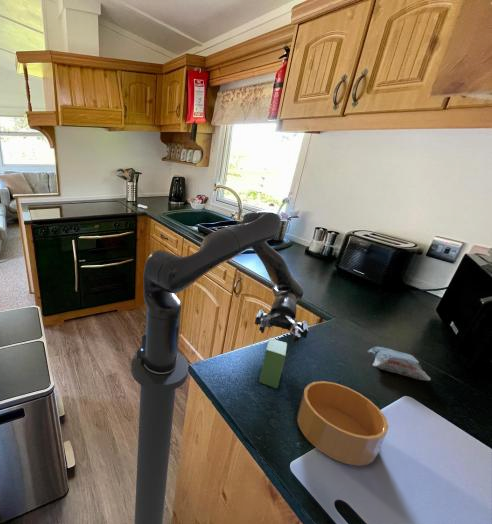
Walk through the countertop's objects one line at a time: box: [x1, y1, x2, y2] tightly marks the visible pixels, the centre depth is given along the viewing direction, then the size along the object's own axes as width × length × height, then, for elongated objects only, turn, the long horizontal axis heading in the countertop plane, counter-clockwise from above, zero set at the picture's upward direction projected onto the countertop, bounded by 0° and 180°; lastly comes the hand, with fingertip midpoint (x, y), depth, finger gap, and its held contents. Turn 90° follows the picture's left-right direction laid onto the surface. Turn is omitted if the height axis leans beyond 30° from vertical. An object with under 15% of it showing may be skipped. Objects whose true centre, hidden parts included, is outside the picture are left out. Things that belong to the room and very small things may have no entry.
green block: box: [258, 337, 288, 389], centre depth 74 cm, size 4×6×10 cm
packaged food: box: [367, 346, 432, 382], centre depth 80 cm, size 9×12×5 cm
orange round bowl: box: [296, 380, 389, 467], centre depth 60 cm, size 14×14×7 cm
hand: (278, 334), depth 81 cm, fingers open, 8 cm apart
